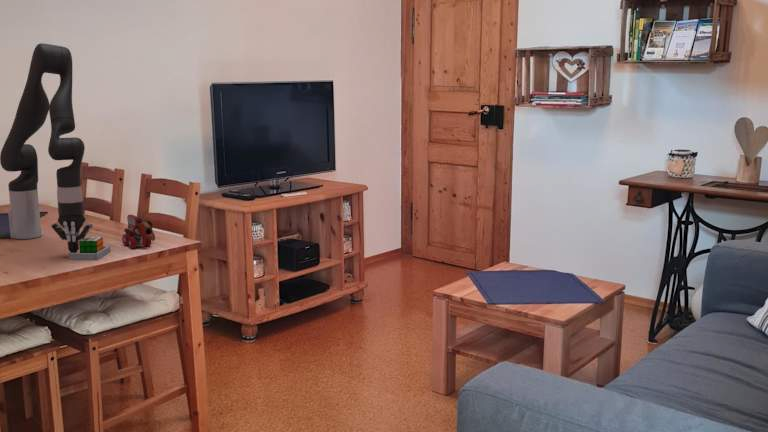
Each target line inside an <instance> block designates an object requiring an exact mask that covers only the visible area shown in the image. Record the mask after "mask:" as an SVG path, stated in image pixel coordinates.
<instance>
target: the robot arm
mask: <svg viewBox="0 0 768 432" xmlns="http://www.w3.org/2000/svg"><path fill="white" fill-rule="evenodd" d="M72 56H73V55H72V52H71V51H70V49H69V48H68V47H65V46H62V45H61V46H60V45H56V44H49V43H44V42H43V43H38V44H36V46H35V47H34V50H33V51H32V56H31V61H30V66H29V68H28V69H29V70H28V74H27V79H26V82H25V86H24V89H23V92H22V95H21V97H20V99H19V100H20V101H19V103H18V106H17V109H16V113H15V116H14V120H13V122H12V125H11V129H10V131H9V133H8V135H7V137H6V139H5V142H4V143H3V146H2V149H1V151H0V166H1V168H2V169H3V170H5V171H6V172H9V173H10V172H11V173H12V172H13V173H14V172H20V174H19V175H18V176H17V177H16V178H14V179H12V180H11V181H9V183H8V194H9V195H8V197H9V205H10V206H9V207H10V208H9V209H10V211H8V213H7V214H8V224H9V233H10V239H17V240H29V239H30V240H31V239H36V238H39V237H41V236H42V227H41V226H42V225H41V216H40V215H41V214H40V213H41V212H40V202H39V201H40V200H39V191H38V190H39V189H38V183H39V166H38V165H39V162H38V161H39V160H38V159H39V158H38V153H37V151H36V149H35V146H33V145H32V144H29V143H26V142H27V141H28V140H29V139H30V138H31V137H32V136H33V135H34V134H35V133H37V132H38V131H39V130H40V129H41V128H42V127H43V126H44V124H45V122H46V120H47V117H48V114H49V119H50V128H51V131H50V136H49V137H50V138H49V143H48V149H47V151H48V155H49V157H50V158H51V159H52V160H54V161H72V162H71V163H70V164H69V165H67V166H63V167H60V168H57V169H56V174H55V177H56V187H57V188H56V199H57V211H58V212H57V214H58V217H57V221H56V222H55V223H53V224H51V228H52V229H53V231H54V232H55V233H56V234H57V235H58V237H59V238H61V240H64V241H67V249H68V251H69V253H78V251H80V249H79V247H80V246H79V241H80V240H81V239H83V238H85V237H87V236H86V235H87V234H88V233H89V232H90V230H91V229H92V227H93V224H92V223H88V222H87V221H86V217H85V215H84V213H85V212H84V211H85V210H84V196H83V189H82V181H81V180H82V179H81V169H82V168H81V167H82V163H83V159H84V155H85V148H86V147H85V143H84V141H83V140H82V139H81V138H80V137H76V136H75V137H61V136H63V135H66V134H70V133H72V132H74V131H75V129H76V122H75V116H74V115H75V114H74V109H73V57H72ZM45 73H46V74H52V75H59V79H60V81H59V82H60V83H59V86H58V88H57V90H56V91H55V93H54V95H53V96H52V98H51V100H50V101H49V98H48V95H47V93H46V90H45V89H44V86H43V83H42V79H43V76H44V75H45ZM81 228H82V231H81ZM80 231H81V232H80Z"/></svg>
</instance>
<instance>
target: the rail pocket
mask: <svg viewBox="0 0 768 432" xmlns="http://www.w3.org/2000/svg"><path fill="white" fill-rule="evenodd" d="M103 247H104V249H102V250H100V251H99V252H97V253H80V252H76V253H70V252H68V260H69V261H70V260H71V261H73V260H74V261H78V260H80V261H98V260H100V259H101V258H104V257H105V256H107V255H109V254H110V253H111V246H110V245H103Z"/></svg>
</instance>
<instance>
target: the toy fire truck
mask: <svg viewBox="0 0 768 432" xmlns="http://www.w3.org/2000/svg"><path fill="white" fill-rule="evenodd" d="M126 218H127V229H128V234H126V233H123V235H122V237H121V239H122V244H123V246H125V247H129V249H132V250H133V249H136V248H137V246H145V247H150V246H151V245H152V241H151V237H150V236H149V235H146V231H145V226H144V223H142V222H144V219H143V218H142V217H140V216H139V217H138V216H137V215H135V214H127V216H126Z"/></svg>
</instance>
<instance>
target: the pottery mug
mask: <svg viewBox="0 0 768 432" xmlns="http://www.w3.org/2000/svg"><path fill="white" fill-rule="evenodd" d="M142 223H144V226H145V231H146V235H149V236H150V237H151V240H152V241H153V240H155V238H156V236H155V233H154V231H153V222H152V221H151V220H149V219H146V220H143V222H142ZM123 232H125V233H124V234H128V227H126V228H124V229H123Z"/></svg>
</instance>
